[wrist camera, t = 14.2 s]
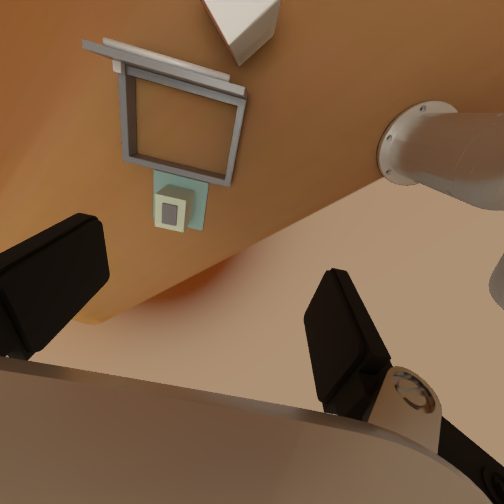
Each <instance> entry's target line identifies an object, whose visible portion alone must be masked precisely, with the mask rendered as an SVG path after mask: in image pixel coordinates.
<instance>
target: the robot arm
mask: <svg viewBox="0 0 504 504" xmlns="http://www.w3.org/2000/svg"><path fill="white" fill-rule="evenodd" d="M420 108H421V109H420ZM387 136H388V138H387ZM386 138H387V139H386ZM377 163H378V168H379V170H380V172H381V174H382V175H383V176H384V177H385V178H386V179H388V180H389V181H391V182H393V183H395V184H399V185H407V186H408V185H415V184H418V183H421V184H423V185H426V186H428V187H430V188H433V189H435V190H437V191H440V192H442V193H445V194H447V195H449V196H452V197H454V198H457V199H459V200H461V201H463V202H466V203H468V204H470V205H473V206H475V207H478V208H482V209H487V210H504V112H463V113H459V112H458V111H457V109H456V108H454V107H453V106H452V105H451V104H448V103H446V102H442V101H427V102H421V103H419V104H416V105H413V106H411V107H410V108H408V109H406V110H405V111H403V112H402V113H401V114H399V115H398V116H397V117H396V118H395V119H394V120H393V121H392V122H391V123H390V125H389V126H388V128H387V129H386V130H385V132H384V134H383V136H382V138H381V140H380V143H379V146H378V151H377ZM386 171H387V172H386ZM109 276H110V273H109V266H108V259H107V253H106V246H105V239H104V232H103V226H102V223H101V221H99V220H98V218H97V217H96V216H92V215H87V214H83V213H77V214H75V215H73V216H71V217H69V218H67V219H65V220H63V221H61V222H59V223H57V224H55V225H54V226H52V227H50V228H48V229H46V230H44V231H42V232H40V233H38V234H36V235H34V236H33V237H31V238H29V239H27V240H25V241H23V242H21V243H19V244H17V245H15V246H13V247H11V248H10V249H8V250H6V251H4V252H2V253H0V504H504V467H503V466H502V465H501V464H500V463H498V462H497V461H496V460H495V459H493V458H492V457H491V456H490V455H489V454H487V453H486V452H485V451H484V450H482V449H481V448H480V447H479V446H478V445H476V444H475V443H474V442H473V441H472V440H470V439H469V438H468V437H467V436H466V435H464V434H463V433H462V432H461V431H459V430H458V429H457V428H456V427H455V426H454V425H452V424H451V423H450V422H449V421H447V420H446V419H445V418H444V417H443V416H442V408H441V404H440V402H439V399H438V397H437V395H436V394H435V392H434V391H433V389H432V388H431V387H430V386H429V385H428V384H427V382H425V380H423V379H422V378H421V377H420V376H418V375H417V374H416V373H414V372H412V371H411V370H409V369H406V368H404V367H398V366H395V367H393V366H392V364H391V362H390V359H391V357H390V355H389V353H388V351H387V349H386V347H385V345H384V343H383V341H382V339H381V337H380V335H379V333H378V331H377V329H376V327H375V326H374V323H373V321H372V319H371V318H370V315H369V314H368V312H367V310H366V308H365V306H364V304H363V302H362V300H361V298H360V296H359V294H358V292H357V290H356V288H355V286H354V284H353V282H352V280H351V278H350V276H349V275H348V273H347V271H344V270H339V269H335V268H332V269H331V270H330V271H328V270H327V271H326V272H325V274H324V276H323V278H322V280H321V282H320V284H319V286H318V288H317V290H316V292H315V294H314V296H313V298H312V300H311V302H310V304H309V306H308V308H307V310H306V312H305V315H304V324H305V331H306V336H307V341H308V347H309V353H310V358H311V364H312V370H313V375H314V381H315V386H316V392H317V397H318V399H319V401H321V402H322V404H323V409H324V412H325V413H322V412H317V411H312V410H307V409H302V408H297V407H292V406H286V405H280V404H274V403H269V402H263V401H257V400H252V399H247V398H241V397H235V396H230V395H224V394H219V393H213V392H208V391H202V390H196V389H190V388H184V387H178V386H173V385H167V384H161V383H156V382H150V381H144V380H138V379H132V378H127V377H121V376H115V375H109V374H103V373H97V372H92V371H85V370H80V369H74V368H68V367H61V366H55V365H50V364H44V363H38V362H32V361H28V359H30V357H31V356H32V355H33V354H34V353H35V352H38V351H41V350H42V349H43V348H44V347H45V346H46V345H47V344H48V343H49V342H50V341H51V340H52V339H53V338H54V337H55V336H56V335H57V334H58V333H59V332H60V331H61V330H62V329H63V328H64V326H65V325H66V324H67V323H68V322H69V321H70V320H71V319H72V318H73V317H74V316H75V315H76V314H77V313H78V312H79V311H80V310H81V309H82V308H83V307H84V306H85V304H86V303H87V302H88V301H89V300H90V299H91V298H92V297H93V296H94V295H95V294H96V293H97V292H98V291H99V290H100V289H101V288H102V287H103V286H104V285H105V283H106V282H107V281H108V279H109ZM489 291H490V293H491V296H492V297H493V299H494V300H495V302H496V303H497V304H498V305H499V306H500V307H501V308H502V309H503V310H504V254H503V256H502V257H501V259H500V261H499V262H498V264H497V266H496V267H495V269H494V271H493V273H492V275H491V277H490V281H489ZM7 355H8V356H9V358H8V357H6V356H7ZM327 413H331V414H327ZM332 414H337V415H338V416H337V415H332Z"/></svg>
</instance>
